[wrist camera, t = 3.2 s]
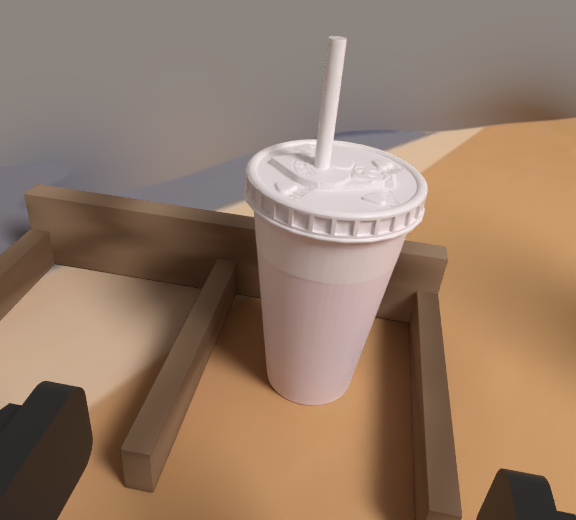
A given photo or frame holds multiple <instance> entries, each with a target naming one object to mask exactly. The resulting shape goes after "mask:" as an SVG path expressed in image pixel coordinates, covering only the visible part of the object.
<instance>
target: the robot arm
mask: <svg viewBox="0 0 576 520" xmlns="http://www.w3.org/2000/svg"><path fill="white" fill-rule="evenodd" d="M92 443H93V437H92V431H91V425H90V419H89V413H88V407H87V401H86V395H85V391H84V390H83V388H81V387H76V386H70V385H65V384H60V383H54V382H49V381H43V382H41V383H40V384H38V385H37V386H36V388H35V389H34V390H33V391H32V393H31V394H30V395H29V397H28V398H27V399H26V401H25V402H24V403H23V405H16V404H11V403H9V404H8V405H7V406H5V407H4V408H2V409H1V410H0V520H57V519H58V517H59V515H60V513H61V511H62V510H63V508H64V506H65V504H66V502H67V501H68V499H69V497H70V495H71V493H72V492H73V490H74V488H75V486H76V484H77V483H78V481H79V479H80V477H81V475H82V474H83V472H84V470H85V468H86V466H87V464H88V461H89V458H90V454H91V450H92ZM476 520H576V516H575V514H570V513H565V512H560V511H557V510H556V506H555V503H554V499H553V495H552V491H551V488H550V485H549V483H548V481H547V479H546V478H545V477H543V476H540V475H534V474H529V473H524V472H518V471H513V470H508V469H500V470H499V471H498V472H497V474H496V476H495V478H494V480H493V483H492V485H491V487H490V489H489V491H488V493H487V496H486V498H485V500H484V502H483V504H482V507H481V509H480V511H479V513H478V516H477V519H476Z"/></svg>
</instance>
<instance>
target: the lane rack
mask: <svg viewBox="0 0 576 520" xmlns="http://www.w3.org/2000/svg"><path fill="white" fill-rule="evenodd" d="M24 196H25V200H26V206H27V211H28V216H29V221H30V226H31V229H30V230H29V231H28V232H27V233H25V234H24V235H23V236H22V237H21V238H20V239H19V240H17V241H16V242H15V243H14V244H13V245H12V246H11V247H9V248H8V249H7V250H6V251H5V252H4V253H3V254H1V255H0V320H1V319H2V318H3V317H4V316H5V315H6V314H7V313H8V312H9V311H10V310H11V309H12V307H13V306H14V305H15V304H16V303H17V302H18V301H19V300H20V299H21V298H22V297H23V296H24V295H25V294H26V293H27V292H28V291H29V290H30V289H31V288H32V287H33V286H34V285H35V284H36V283H37V282H38V281H39V279H40V278H41V277H42V276H43V275H44V274H45V273H46V272H47V271H48V270H49V269H50V268H51V267H52V266H53V265H54V264H61V265H67V266H73V267H79V268H85V269H91V270H97V271H103V272H109V273H115V274H121V275H127V276H133V277H139V278H145V279H151V280H157V281H163V282H169V283H175V284H181V285H187V286H193V287H198V288H202V290H201V292H200V294H199V296H198V298H197V300H196V302H195V304H194V306H193V308H192V310H191V312H190V314H189V316H188V318H187V320H186V322H185V324H184V326H183V328H182V330H181V332H180V333H179V335H178V337H177V339H176V341H175V343H174V345H173V347H172V349H171V351H170V353H169V355H168V357H167V359H166V361H165V363H164V365H163V367H162V369H161V371H160V373H159V375H158V377H157V379H156V380H155V382H154V384H153V386H152V388H151V390H150V392H149V394H148V396H147V398H146V400H145V402H144V404H143V406H142V408H141V410H140V412H139V414H138V416H137V418H136V420H135V422H134V424H133V425H132V427H131V429H130V431H129V433H128V435H127V437H126V439H125V441H124V443H123V445H122V447H121V449H120V451H121V459H122V466H123V474H124V482H125V487H128V488H133V489H138V490H143V491H148V492H153V491H154V489H155V486H156V484H157V482H158V479H159V477H160V474H161V472H162V470H163V467H164V465H165V462H166V460H167V458H168V455H169V453H170V450H171V448H172V446H173V443H174V441H175V438H176V436H177V434H178V431H179V429H180V426H181V424H182V422H183V419H184V417H185V414H186V412H187V410H188V407H189V405H190V402H191V400H192V398H193V395H194V393H195V390H196V388H197V386H198V383H199V381H200V378H201V376H202V374H203V371H204V369H205V366H206V364H207V362H208V359H209V357H210V354H211V352H212V350H213V347H214V345H215V343H216V340H217V338H218V335H219V333H220V331H221V328H222V326H223V323H224V321H225V319H226V316H227V314H228V311H229V309H230V307H231V304H232V302H233V299H234V297H235V295H236V294H240V295H246V296H252V297H258V298H261V292H260V280H259V268H258V255H257V244H256V234H255V217H249V216H242V215H236V214H229V213H223V212H216V211H209V210H203V209H196V208H190V207H183V206H177V205H170V204H164V203H157V202H151V201H144V200H138V199H131V198H125V197H118V196H112V195H105V194H99V193H91V192H85V191H79V190H72V189H66V188H59V187H53V186H46V185H40V184H37V185H35V186H34V187H33V188H31V189H30V190H29V191H27V192H26V193H25V194H24ZM447 261H448V258H447V251H446V247H444V246H438V245H431V244H425V243H418V242H412V241H405V240H404V243H403V246H402V249H401V251H400V254H399V257H398V260H397V262H396V264H395V267H394V269H393V272H392V274H391V277H390V280H389V282H388V285H387V287H386V290H385V293H384V295H383V298H382V301H381V303H380V306H379V308H378V311H377V314H376V316H375V317H378V318H384V319H390V320H396V321H402V322H408V323H409V340H410V372H411V404H412V436H413V467H414V499H415V520H461V519H462V510H461V501H460V492H459V483H458V474H457V465H456V455H455V446H454V437H453V428H452V419H451V410H450V400H449V391H448V382H447V373H446V364H445V355H444V345H443V336H442V327H441V318H440V309H439V300H438V292H439V289H440V285H441V282H442V278H443V275H444V271H445V268H446V264H447Z"/></svg>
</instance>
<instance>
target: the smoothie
mask: <svg viewBox="0 0 576 520" xmlns="http://www.w3.org/2000/svg"><path fill="white" fill-rule="evenodd" d="M346 41H347V39H346V38H344V37H339V36H330V37H329V41H328V49H327V57H326V66H325V76H324V84H323V93H322V101H321V109H320V118H319V126H318V135H317V139H314V140H297V141H289V142H284V143H279V144H276V145H273V146H270V147H267V148H265V149H263V150H261V151H260V152H258V153H256V154H255V155H254V156H253V157H252V158H251V159H250V161H249V162H248V165H247V171H246V173H247V178H246V185H245V188H244V194H245V198H246V202H247V203H248V205H249V206H250V207H251V208H252V209H253V211H254V217H255V234H256V244H257V255H258V268H259V280H260V292H261V305H262V317H263V330H264V342H265V354H266V367H267V377H268V380H269V382H270V384H271V386H272V387H273V388H274V390H275V391H276V392H277V393H279V394H280V395H281V396H283V397H284V398H286V399H288V400H290V401H292V402H295V403H299V404H303V405H323V404H327V403H331V402H333V401H335V400H337V399H338V398H340V397H341V396H342V395H343V394H344V393H345V392H346V391H347V389H348V387H349V384H350V382H351V379H352V376H353V374H354V371H355V369H356V366H357V363H358V361H359V358H360V355H361V353H362V350H363V348H364V345H365V342H366V340H367V337H368V335H369V332H370V329H371V327H372V324H373V321H374V319H375V316H376V314H377V311H378V308H379V306H380V303H381V301H382V298H383V295H384V293H385V290H386V287H387V285H388V282H389V280H390V277H391V274H392V272H393V269H394V267H395V264H396V262H397V260H398V257H399V254H400V251H401V249H402V246H403V243H404V240H405V238H406V235H407V233H408V232H410V231H412V230H413V229H414V228H415V227H416V226H417V225H418V224H419V223H420V222H421V221H422V218H423V215H424V212H425V208H424V204H425V200H426V196H427V190H428V188H427V183H426V181H425V179H424V177H423V176H422V175H421V173H420V172H419V171H418V170H416V169H415V168H414V167H413V166H412V165H410V164H409V163H407V162H406V161H404V160H403V159H401V158H399V157H396V156H394V155H392V154H390V153H387V152H385V151H382V150H379V149H376V148H373V147H369V146H365V145H361V144H356V143H351V142H344V141H336V140H333V139H334V132H335V124H336V116H337V109H338V101H339V94H340V86H341V79H342V71H343V63H344V56H345V49H346Z"/></svg>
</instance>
